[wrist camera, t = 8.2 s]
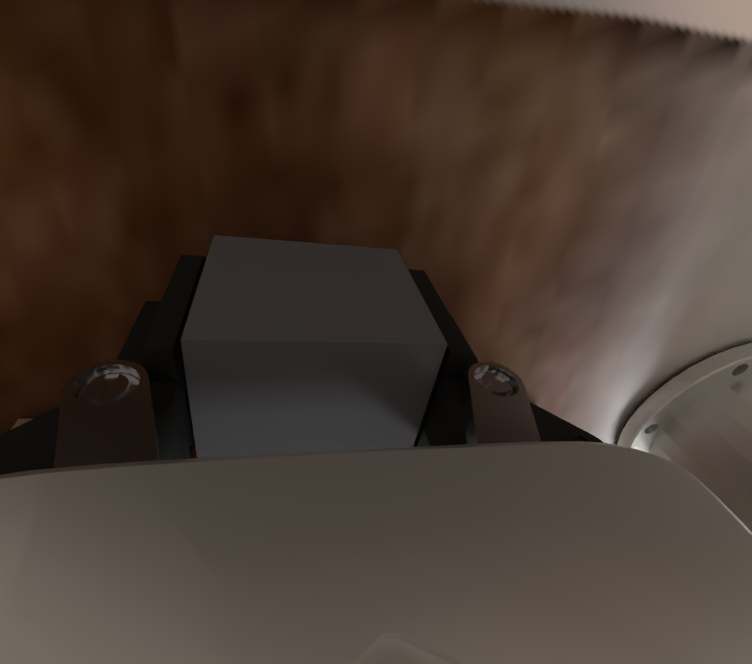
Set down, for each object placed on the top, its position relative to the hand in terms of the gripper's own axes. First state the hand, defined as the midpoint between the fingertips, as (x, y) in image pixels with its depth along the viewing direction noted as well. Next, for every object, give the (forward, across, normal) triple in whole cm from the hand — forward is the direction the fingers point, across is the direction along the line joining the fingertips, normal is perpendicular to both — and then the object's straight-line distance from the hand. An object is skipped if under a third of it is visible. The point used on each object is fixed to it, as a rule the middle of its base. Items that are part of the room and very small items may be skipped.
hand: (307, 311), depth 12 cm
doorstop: (+1, 0, +5) cm, 5 cm away
